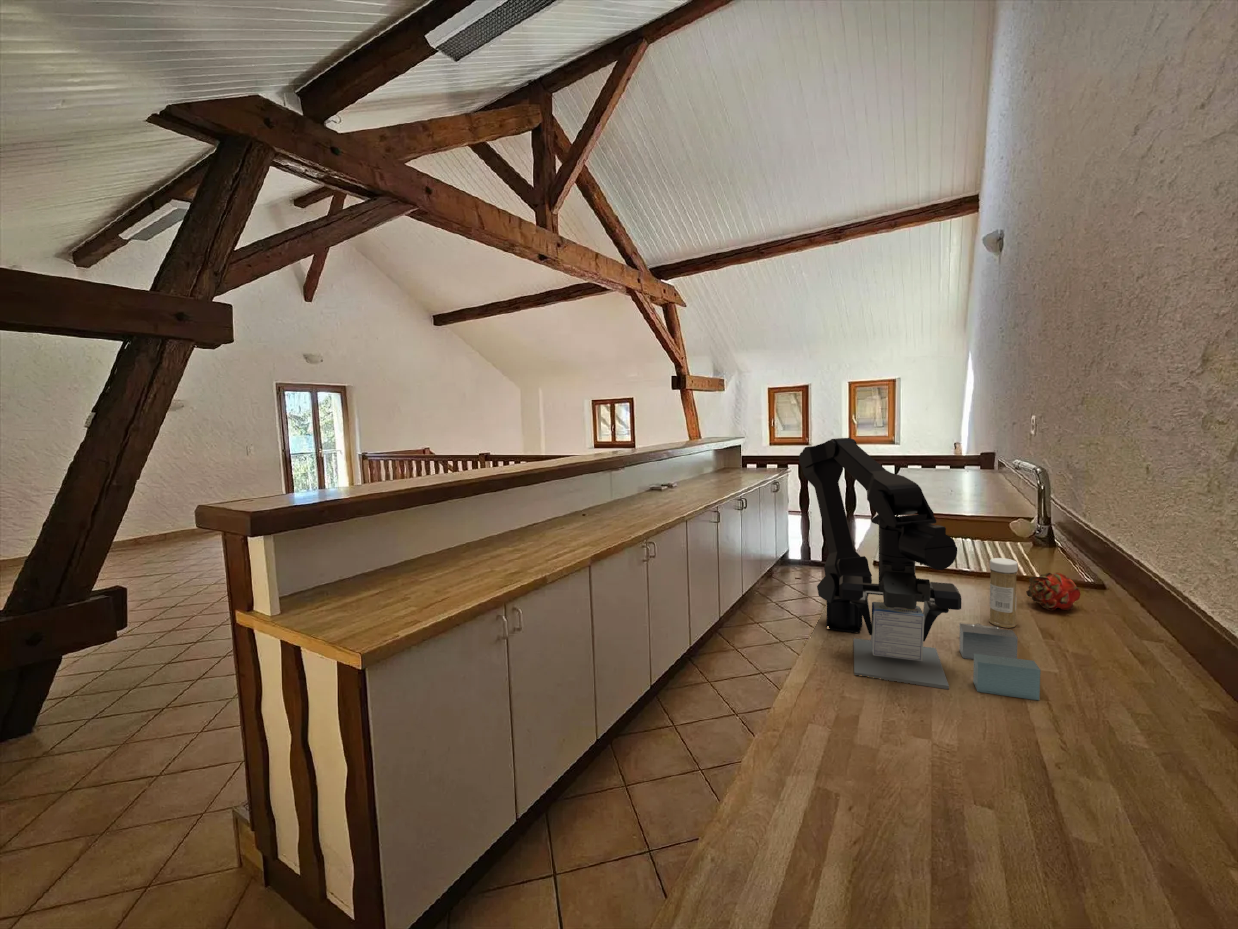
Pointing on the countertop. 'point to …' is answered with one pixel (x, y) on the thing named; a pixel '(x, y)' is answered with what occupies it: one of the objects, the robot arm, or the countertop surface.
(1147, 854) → the countertop surface
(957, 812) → the countertop surface
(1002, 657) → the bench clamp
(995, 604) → the sprinkles bottle
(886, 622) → the medicine box
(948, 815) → the countertop surface
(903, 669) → the rubber mat
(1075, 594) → the dragon fruit
